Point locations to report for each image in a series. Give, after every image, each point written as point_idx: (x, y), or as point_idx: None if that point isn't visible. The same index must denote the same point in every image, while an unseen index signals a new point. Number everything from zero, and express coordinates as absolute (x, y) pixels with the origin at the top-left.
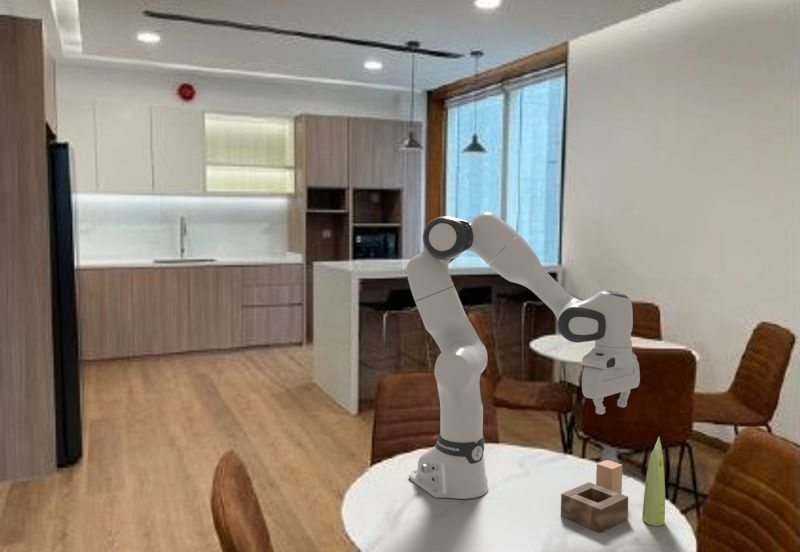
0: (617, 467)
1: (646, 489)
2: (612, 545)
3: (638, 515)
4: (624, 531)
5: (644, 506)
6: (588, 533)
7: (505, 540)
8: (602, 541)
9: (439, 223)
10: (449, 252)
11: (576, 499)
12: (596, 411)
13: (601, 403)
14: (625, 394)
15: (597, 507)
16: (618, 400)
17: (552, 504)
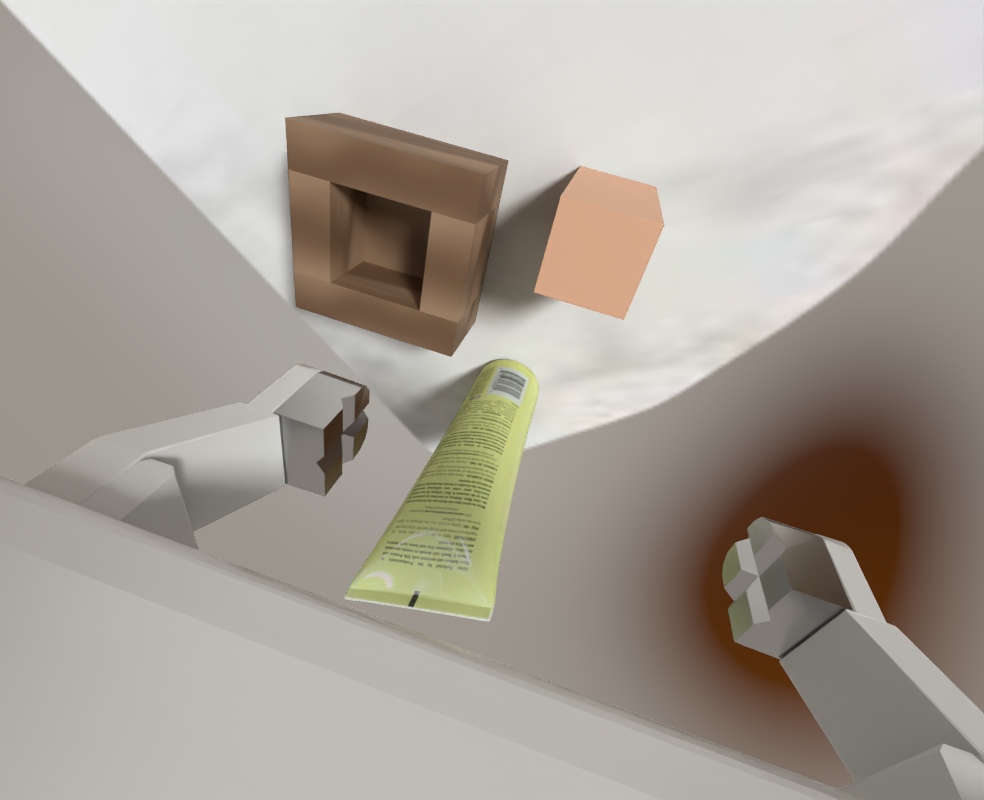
0: (578, 305)
1: (448, 431)
2: (308, 324)
3: (523, 342)
4: None
5: (472, 390)
6: None
7: (66, 32)
8: None
9: None
10: None
11: (292, 202)
12: (293, 376)
13: (191, 514)
14: (871, 752)
15: (300, 291)
16: (777, 590)
17: (401, 19)
